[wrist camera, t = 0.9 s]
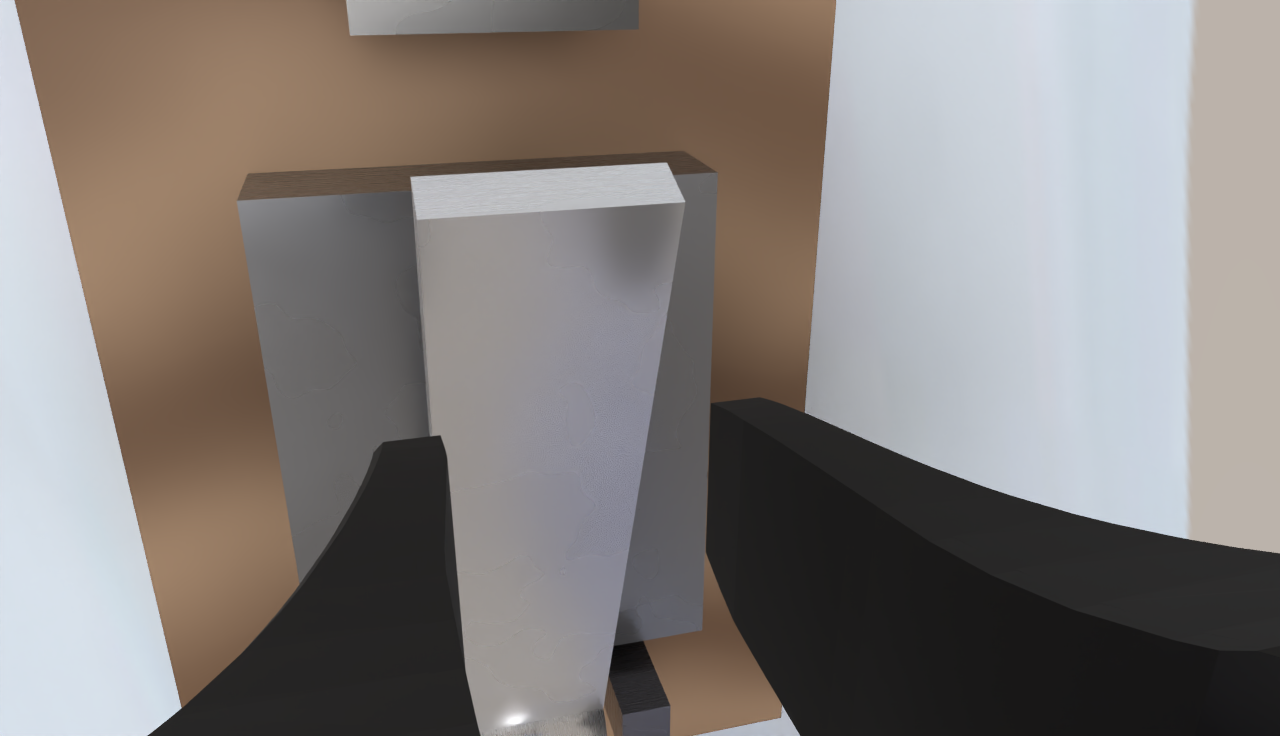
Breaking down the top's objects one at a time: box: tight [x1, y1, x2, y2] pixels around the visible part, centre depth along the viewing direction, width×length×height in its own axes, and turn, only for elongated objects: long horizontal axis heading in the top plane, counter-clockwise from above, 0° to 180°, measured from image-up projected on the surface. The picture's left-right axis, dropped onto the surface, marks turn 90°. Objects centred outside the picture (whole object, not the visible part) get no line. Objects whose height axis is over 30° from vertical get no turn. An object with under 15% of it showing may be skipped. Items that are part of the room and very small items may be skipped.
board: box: [15, 0, 836, 736], centre depth 21 cm, size 20×14×2 cm
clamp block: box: [237, 0, 718, 736], centre depth 18 cm, size 16×8×4 cm, turn 179°
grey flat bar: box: [410, 163, 685, 736], centre depth 16 cm, size 14×3×1 cm, turn 179°
